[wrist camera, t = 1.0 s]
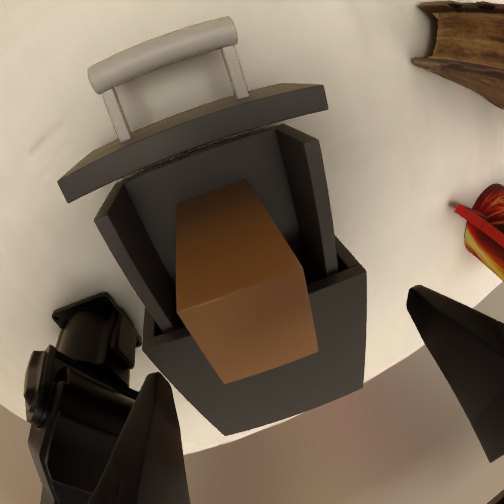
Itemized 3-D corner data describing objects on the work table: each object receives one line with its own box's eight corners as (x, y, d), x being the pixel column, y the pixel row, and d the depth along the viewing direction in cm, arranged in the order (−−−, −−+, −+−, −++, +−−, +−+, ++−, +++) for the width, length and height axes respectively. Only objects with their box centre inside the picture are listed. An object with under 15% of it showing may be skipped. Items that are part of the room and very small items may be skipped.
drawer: (67, 90, 13) (21, 96, 8) (264, 19, 14) (299, -6, 9) (172, 309, 23) (175, 366, 18) (319, 257, 24) (352, 304, 19)
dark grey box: (148, 273, 22) (141, 350, 16) (316, 214, 22) (366, 270, 16) (213, 374, 30) (224, 436, 24) (332, 332, 31) (363, 387, 24)
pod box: (204, 267, 20) (224, 384, 12) (176, 203, 18) (176, 312, 10) (266, 245, 21) (319, 351, 13) (246, 178, 18) (303, 267, 10)
